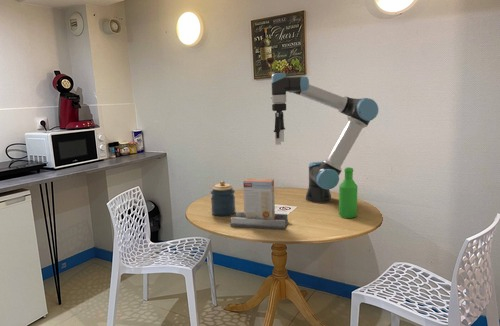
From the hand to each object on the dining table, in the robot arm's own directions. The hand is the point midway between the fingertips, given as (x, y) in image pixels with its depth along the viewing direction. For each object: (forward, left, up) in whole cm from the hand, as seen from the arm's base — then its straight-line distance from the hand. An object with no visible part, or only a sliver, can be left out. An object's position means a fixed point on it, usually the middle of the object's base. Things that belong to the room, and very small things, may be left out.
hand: (279, 143), depth 186 cm
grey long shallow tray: (+6, +28, -37) cm, 46 cm away
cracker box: (+6, +27, -36) cm, 45 cm away
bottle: (-36, +9, -37) cm, 52 cm away
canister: (+29, +14, -37) cm, 49 cm away
